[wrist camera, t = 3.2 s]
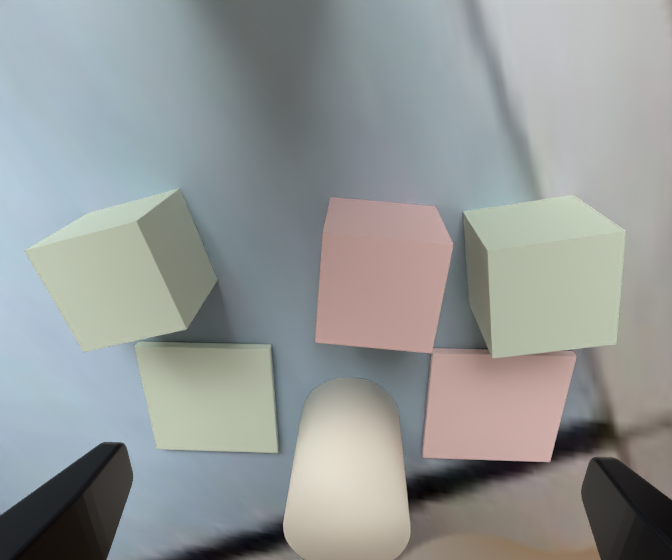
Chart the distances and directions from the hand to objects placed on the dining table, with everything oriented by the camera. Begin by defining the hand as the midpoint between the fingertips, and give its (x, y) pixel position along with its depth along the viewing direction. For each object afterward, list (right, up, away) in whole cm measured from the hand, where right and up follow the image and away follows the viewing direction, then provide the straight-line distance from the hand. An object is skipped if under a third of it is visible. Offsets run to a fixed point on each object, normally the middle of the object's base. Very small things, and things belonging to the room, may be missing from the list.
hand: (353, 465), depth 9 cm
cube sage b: (-8, +5, +10) cm, 14 cm away
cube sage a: (+7, +5, +9) cm, 13 cm away
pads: (0, -2, +13) cm, 13 cm away
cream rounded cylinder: (0, -3, +13) cm, 14 cm away
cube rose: (+1, +5, +10) cm, 11 cm away
